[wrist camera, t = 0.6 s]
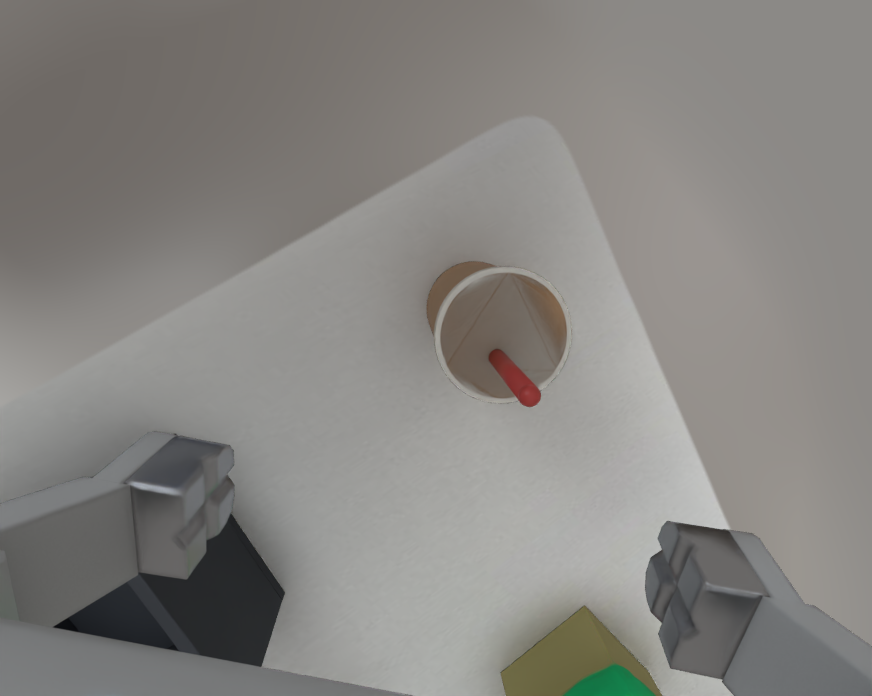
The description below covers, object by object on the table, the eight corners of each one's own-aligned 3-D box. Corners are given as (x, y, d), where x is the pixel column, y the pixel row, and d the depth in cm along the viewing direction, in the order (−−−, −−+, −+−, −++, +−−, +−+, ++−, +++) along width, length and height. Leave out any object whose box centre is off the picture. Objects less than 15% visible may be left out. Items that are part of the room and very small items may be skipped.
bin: (175, 432, 34) (90, 508, 25) (285, 592, 37) (246, 716, 27) (-5, 528, 35) (-159, 639, 25) (117, 678, 37) (22, 830, 28)
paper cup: (441, 245, 33) (483, 251, 17) (535, 275, 34) (661, 309, 18) (410, 341, 34) (424, 432, 18) (503, 368, 35) (594, 479, 19)
